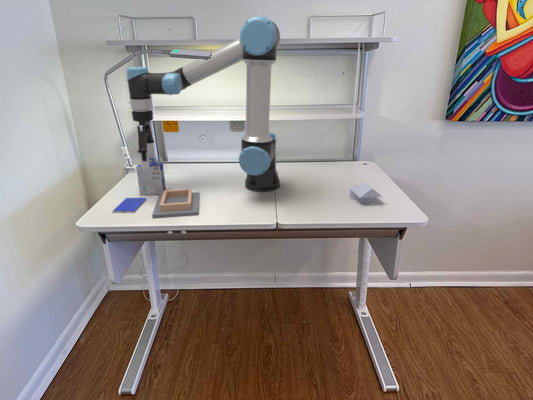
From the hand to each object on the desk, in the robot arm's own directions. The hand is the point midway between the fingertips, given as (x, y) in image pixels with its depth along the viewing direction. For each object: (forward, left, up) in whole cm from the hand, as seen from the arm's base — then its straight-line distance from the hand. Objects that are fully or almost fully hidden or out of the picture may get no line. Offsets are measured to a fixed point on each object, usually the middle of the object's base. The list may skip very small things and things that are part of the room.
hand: (148, 163), depth 147 cm
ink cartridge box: (0, 0, -13) cm, 13 cm away
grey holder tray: (-11, +16, -13) cm, 23 cm away
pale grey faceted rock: (-83, +22, -13) cm, 87 cm away
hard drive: (+7, +13, -13) cm, 20 cm away
